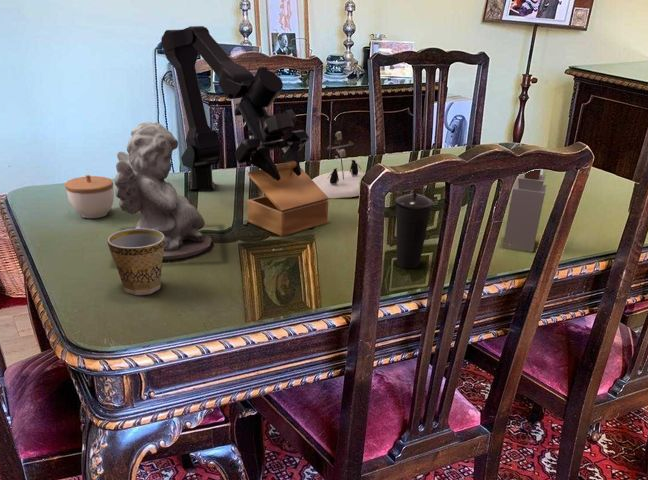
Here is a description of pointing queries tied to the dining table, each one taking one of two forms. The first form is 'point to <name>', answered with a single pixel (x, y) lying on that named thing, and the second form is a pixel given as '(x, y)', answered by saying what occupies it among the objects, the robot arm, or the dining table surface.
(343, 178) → the figurine
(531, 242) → the perfume bottle
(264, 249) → the dining table surface
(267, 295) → the dining table surface
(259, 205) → the chest
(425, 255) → the dining table surface
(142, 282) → the ceramic cup
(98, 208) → the trinket box
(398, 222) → the drinking cup
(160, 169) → the angel statue
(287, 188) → the lid
